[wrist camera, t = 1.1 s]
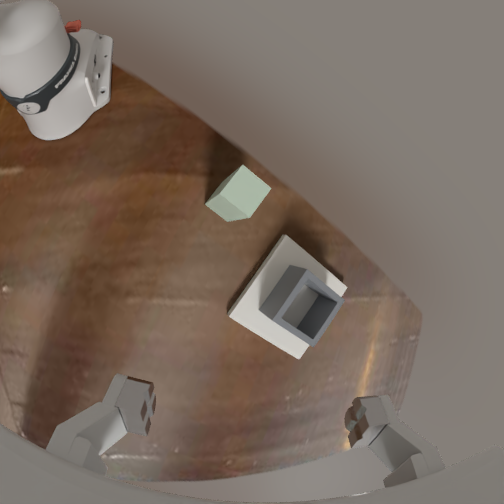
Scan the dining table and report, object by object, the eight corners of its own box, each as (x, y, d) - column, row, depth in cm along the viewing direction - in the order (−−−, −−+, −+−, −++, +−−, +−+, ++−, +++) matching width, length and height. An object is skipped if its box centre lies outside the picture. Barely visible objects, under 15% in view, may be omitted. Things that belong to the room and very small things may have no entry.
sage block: (227, 221, 44) (249, 217, 33) (204, 204, 43) (219, 193, 32) (243, 199, 45) (271, 188, 33) (222, 182, 44) (242, 164, 32)
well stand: (295, 356, 50) (315, 373, 42) (226, 313, 45) (238, 328, 38) (342, 286, 52) (367, 293, 45) (282, 234, 47) (303, 235, 40)
